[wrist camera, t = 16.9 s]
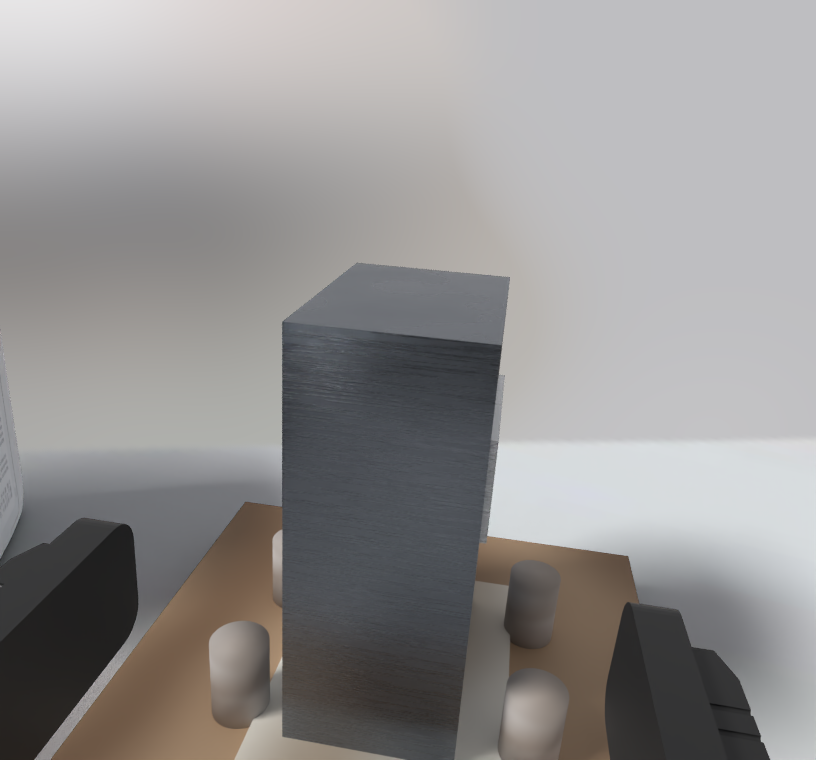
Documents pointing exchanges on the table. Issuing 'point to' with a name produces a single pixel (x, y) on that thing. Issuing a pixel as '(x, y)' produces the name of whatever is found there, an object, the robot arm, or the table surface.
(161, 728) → the pin tray
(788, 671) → the table surface
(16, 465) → the photo printer
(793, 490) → the table surface
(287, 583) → the block
